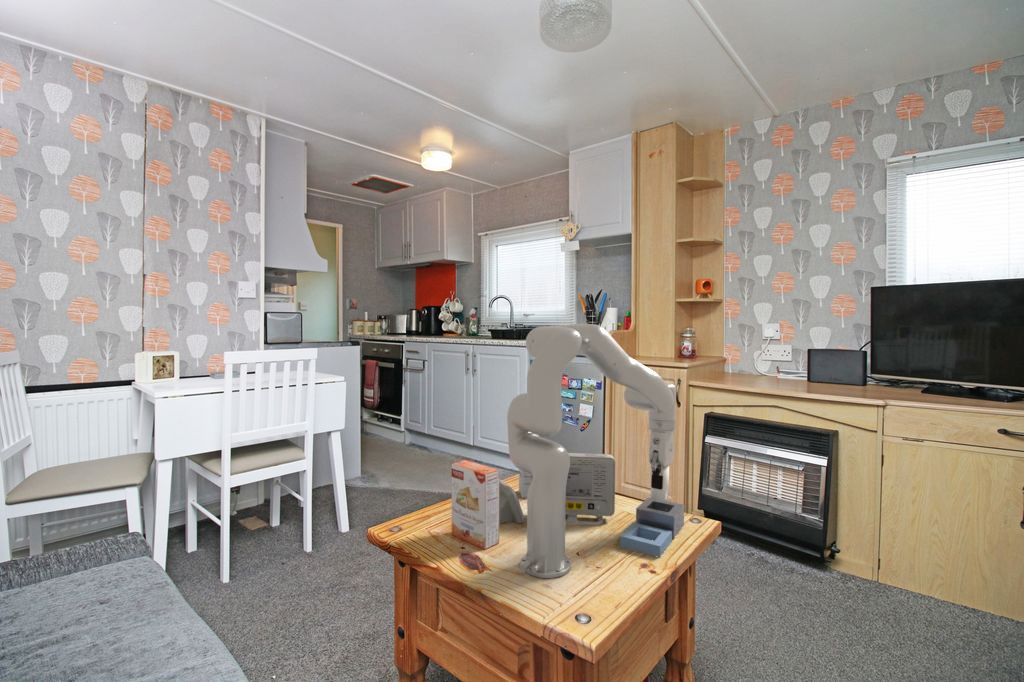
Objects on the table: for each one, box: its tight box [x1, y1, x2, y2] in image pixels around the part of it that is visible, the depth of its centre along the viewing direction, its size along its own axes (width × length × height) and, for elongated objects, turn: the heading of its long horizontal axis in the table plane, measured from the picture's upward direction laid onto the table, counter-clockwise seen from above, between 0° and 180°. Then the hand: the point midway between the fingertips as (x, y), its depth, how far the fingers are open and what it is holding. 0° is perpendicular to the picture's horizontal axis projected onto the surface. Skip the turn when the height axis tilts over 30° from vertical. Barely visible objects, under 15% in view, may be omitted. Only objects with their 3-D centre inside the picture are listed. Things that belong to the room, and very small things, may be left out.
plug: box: [650, 462, 670, 502], centre depth 146 cm, size 5×5×10 cm
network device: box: [531, 452, 616, 526], centre depth 154 cm, size 26×9×20 cm, turn 84°
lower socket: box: [619, 522, 673, 558], centre depth 136 cm, size 11×11×3 cm
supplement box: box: [518, 468, 531, 499], centre depth 175 cm, size 7×7×13 cm
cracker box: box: [451, 459, 500, 550], centre depth 138 cm, size 14×6×21 cm, turn 47°
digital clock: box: [499, 478, 526, 524], centre depth 155 cm, size 16×9×11 cm, turn 12°
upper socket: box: [635, 497, 685, 540], centre depth 147 cm, size 11×11×6 cm
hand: (659, 485), depth 146 cm, fingers closed on plug, 4 cm apart
